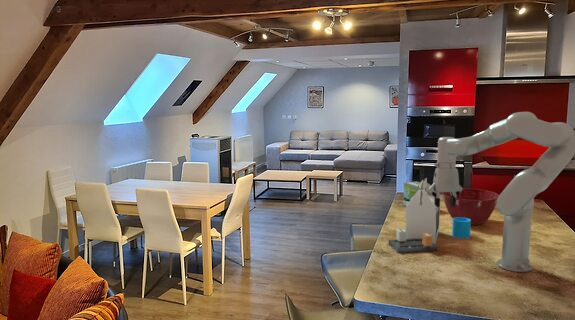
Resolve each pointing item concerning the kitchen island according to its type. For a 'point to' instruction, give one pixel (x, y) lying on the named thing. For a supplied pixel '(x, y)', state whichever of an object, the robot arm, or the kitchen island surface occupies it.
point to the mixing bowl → (472, 204)
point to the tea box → (410, 191)
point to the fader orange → (427, 239)
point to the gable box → (422, 214)
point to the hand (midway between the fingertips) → (444, 205)
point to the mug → (461, 227)
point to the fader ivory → (400, 235)
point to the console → (411, 246)
